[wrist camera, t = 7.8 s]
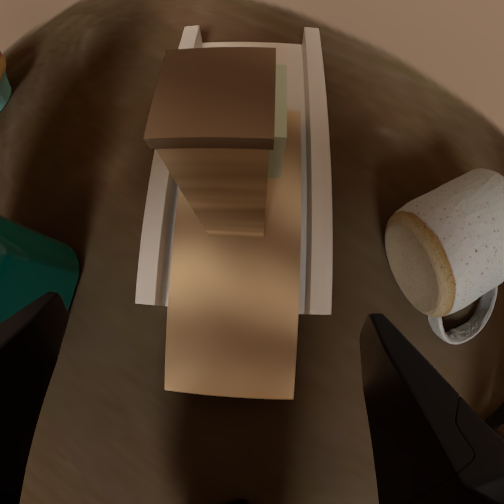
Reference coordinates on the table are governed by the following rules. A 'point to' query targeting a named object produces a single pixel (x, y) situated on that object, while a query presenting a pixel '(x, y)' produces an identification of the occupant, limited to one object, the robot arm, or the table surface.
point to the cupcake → (3, 83)
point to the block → (279, 123)
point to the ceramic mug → (451, 250)
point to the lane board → (312, 182)
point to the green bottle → (33, 267)
